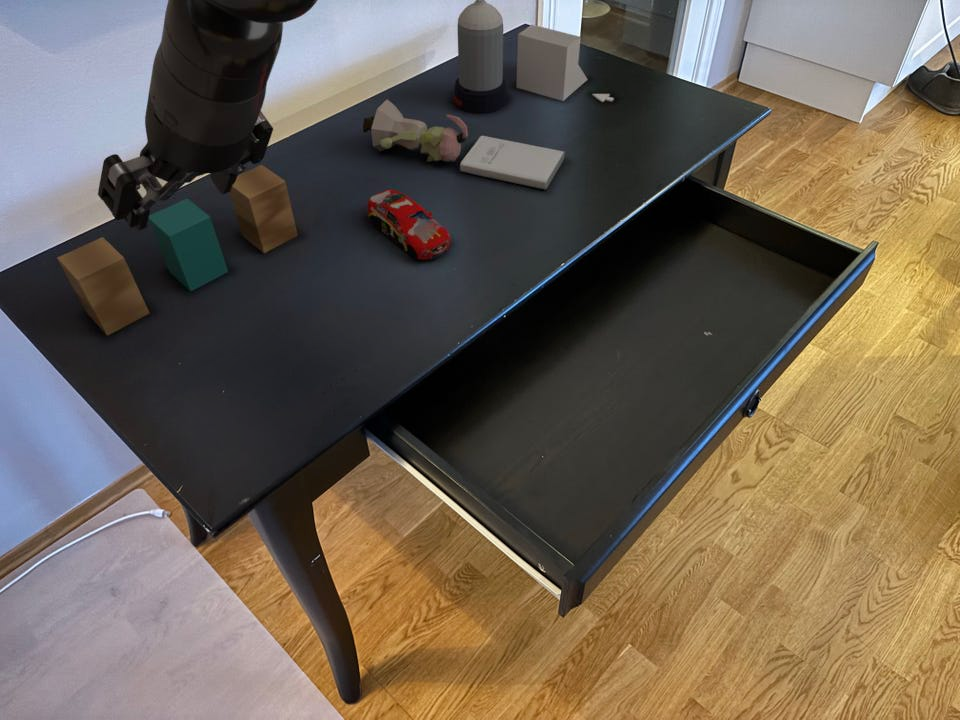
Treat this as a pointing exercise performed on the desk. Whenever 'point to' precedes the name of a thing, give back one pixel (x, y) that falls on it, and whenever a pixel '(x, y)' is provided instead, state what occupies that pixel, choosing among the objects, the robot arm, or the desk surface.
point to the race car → (408, 224)
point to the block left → (104, 285)
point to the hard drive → (513, 162)
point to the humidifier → (480, 60)
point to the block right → (263, 208)
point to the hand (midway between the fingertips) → (178, 202)
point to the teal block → (188, 244)
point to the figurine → (414, 134)
